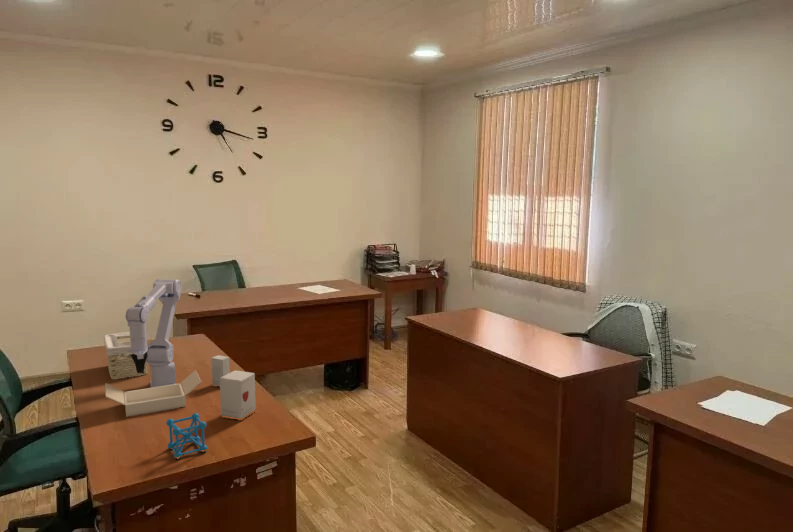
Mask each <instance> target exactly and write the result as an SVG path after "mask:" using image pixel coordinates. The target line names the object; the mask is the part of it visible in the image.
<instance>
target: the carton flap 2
mask: <svg viewBox="0 0 793 532" xmlns="http://www.w3.org/2000/svg"><path fill="white" fill-rule="evenodd" d="M180 383H181V386H182V388H183V391H184V394H185V396H188V395H189V394H190V393H191V392H193V390H194V389H196V388H197V387H198V386H199V385H200V384H202V380H201V378H200V376H199V374H198V371H197V370H193V372H191V373H190V374H189V375H188V376H187V377H185V378H184V379H183V380H181V382H180Z"/></svg>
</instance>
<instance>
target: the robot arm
mask: <svg viewBox="0 0 793 532" xmlns="http://www.w3.org/2000/svg"><path fill="white" fill-rule="evenodd" d="M182 289H183V286H182V282H181V281H180V279H177V278H176V279H167V278H166V279H164V278H163V279H162V278H161V279H160V278H156V279H155V280H154V282H153V285H152V289H151V291H150V292H149V293H148V294H147V295H143V296H142V297H141V298H140V299H139V301H138V302H136V304H134V305H133V306H130V307H129V308H127V309H126V311H125V312H126V313H125V320H126V322H127V326H128V327H129V332H130V338H129V340H130V341H129V342H130V344H131V349H130V350H127V352H128V353H130V352H131V353H133V354H131V357H132V359H133V361H134V363H135V366H136V370H137V373H143V372H144V366H145V361H146V362H147V366H150V369H149V370H150V381H149V386H150V388H153V387H160V386H166V385H173V384H177V375H176V366H175V362H174V361H173V359H174V356H175V355H174V352H175V350H174V349H175V346H174V345H173V343H171V342H170V341H169V340H170V339H169V338H170V334H171V330H172V327H173V326H172V325H173V321H174V316H175V312H176V308H177V302H178V301H180V299H181V295H182ZM157 300H159V301H160V302H162V306H161V307H162V308H161V311H160V312H161V313H160V317H159V321H158V326H157V330H156V335H155V339H154V340H152V341H150V342H149V343H148V339H147V338H148V336H147V321H148V319H149V316H150V313H151V311H152V310H153V309H154V307H156V304H157Z"/></svg>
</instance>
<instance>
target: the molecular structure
mask: <svg viewBox="0 0 793 532" xmlns="http://www.w3.org/2000/svg"><path fill="white" fill-rule="evenodd" d="M188 420H192V421H191V422H190V425H189V427H185V428H180V427H179V426H177V424H175V423H178V422H179V423H180V422H184V421H188ZM166 426H167V427H168V428H169V429H168V430H169V443H168V444H167V449H169V448H172V451H173V453H174V454H173V458H174V457H179V456H182V455H183V454H186V455H188V454H187V453H190V454H192V453H191V452H194V453H196V452H195V451H198V452H200V451H199V450H206V449H207V448H208V446H207V445H206V443H205V441H206V440H205V429H206V428H207V422H206V421H204V420H203V421H201V420H200V414H199V413H197V412H195V413H192V415H191V416H188V417H183V418H179V419H175V420H174V419H173V418H168V419H167V420H166ZM199 430H201V437H200V436H199V434H198V431H199ZM192 434H194V436H193V435H192ZM179 435H181V436H182V437H181V438H179ZM173 436H175V441H174V442H173ZM199 440H200V441H199ZM188 443H194V444H195V445H197V446H198V447H199V448H196V449H192V450H189V451H185V452H182V451H183V448H184V447H185V444H188ZM180 444H181V445H180ZM174 447H175V448H174ZM207 450H208V449H207ZM183 456H184V455H183ZM183 456H182V457H183Z"/></svg>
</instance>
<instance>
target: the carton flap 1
mask: <svg viewBox="0 0 793 532" xmlns="http://www.w3.org/2000/svg"><path fill="white" fill-rule="evenodd" d="M104 393H105V394H104V395H105V398H107V399H109V400H112V401H113V402H116V403H118V404H120V405H123V406H125V399H124V390H122V389H120V388H118V387H116V386H114V385H111V384H109V383H106V382H105V383H104Z"/></svg>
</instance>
